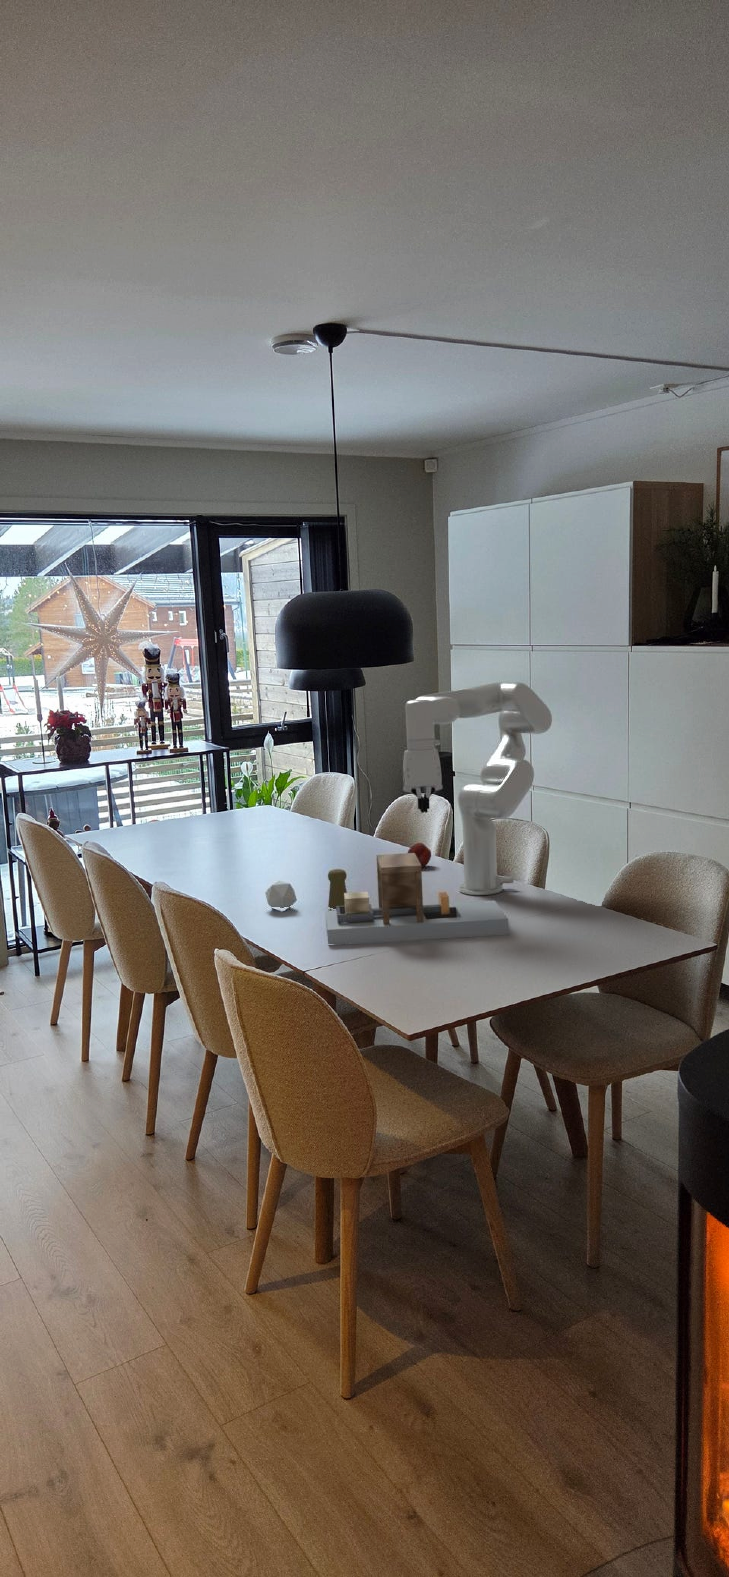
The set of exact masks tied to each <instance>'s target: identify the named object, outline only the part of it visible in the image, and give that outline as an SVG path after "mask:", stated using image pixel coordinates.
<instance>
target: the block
mask: <svg viewBox="0 0 729 1577" xmlns="http://www.w3.org/2000/svg"><path fill="white" fill-rule="evenodd" d="M344 901H345V914H353V913H370V910H369V904H370V896H369V893H368V891H360V892H347V893H344Z"/></svg>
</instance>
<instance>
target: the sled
mask: <svg viewBox="0 0 729 1577" xmlns="http://www.w3.org/2000/svg"><path fill="white" fill-rule="evenodd" d="M437 894H438V896H437V897H438V903H435V904H436V905H430V904H423V913H433V912H441V914H449V903H450V897H449V894H448V893H447V892H446V891H442V892H438V893H437ZM369 910H370V913H353V914H345V906H336V914H337V921H338V923H347V922H363V921H374V920H373V916H383V911H382V908H379V907H372V904H371V903H369ZM400 914H416V906H403V907H389V915H400Z"/></svg>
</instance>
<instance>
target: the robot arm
mask: <svg viewBox="0 0 729 1577" xmlns="http://www.w3.org/2000/svg"><path fill="white" fill-rule="evenodd" d="M404 710H405V727H406V731H405V732H406V747H407V748H406V750H404V753H403V759H402V760H403V761H402V779H403V787H402V791H403V792H406V793H411V794H413V795H414V796H415V797H416V798H417V810H419V812H420V813H421V814H427V813H428V810H430V808H431V807H430V798H431V796H432V795H433V794H434V792H437V791H440V790H442V789H443V782H442V767H441V761H440V755H439V750H438V749H437V748H436V747H437V746H438V745H439V746H441V740H440V739H437V738H436V737H435V725H449V724H452V723H454V722H455V721H456V720H458V719H468V718H469V719H471V718H478V717H481V716H482V717H483V716H486V715H490V714H495V713H499V714H498V727H499V743H498V745H497V747H496V748H495V750H494V751H493V753H492V754H491V755H490V756H489V758H488V760H487V761H486V762H485V764H484V765H483V767H482V770H481V772H480V781H481V782H471V783H468V784H466V785H464V786H463V787H462V788H461V789H460V790H459V793H458V797H457V804H458V807H459V808H458V809H459V812H460V816H461V823H462V824H461V825H462V842H463V843H462V844H463V846H462V847H463V852H462V853H463V873H464V874H463V877H464V879H463V880H464V883H462V884H461V885H459V886H458V888H459V890H458V891H459V892H460V893H463V894H465V895H468V896H469V895H471V896H487V895H495V894H499V893H500V892H502V891H503V889H504V888H503V887H504V886H503V885H504V884H514V877H513V876H507V875H502V876H500V875H499V874H498V870H497V869H498V866H497V865H498V863H497V860H498V859H497V830H496V826H495V823H494V821H493V819H498V820H503V819H504V820H505V819H508V818H510V817H511V816H512V815H513V814H514V813H515V812H516V810H517V809H518V808H519V805H520V804H521V803H522V802H523V801H524V800H523V799H525V797H526V795H527V794H528V792H529V791H530V789H531V788H532V785H533V782H534V778H535V771H534V767H533V765H532V763H530V761H529V760H526V759H524V758H525V756H526V752H527V751H526V746H525V743H524V739H523V735H522V734H530V735H531V734H533V735H541V734H544V733H546V732H548V731H549V730H550V728H551V726H552V722H553V717H552V716H553V715H552V713H551V710H550V708H549V706H547V704H546V703H545V702H544V701H543V700H542V699H541V698H540V697H539V695H538V694H536V692H535V691H534V690H533V689H532V688H531V687H529V686H528V685H527V684H525V683H523V682H513V681H512V682H508V681H506V682H504V681H503V682H502V681H499V682H498V681H497V682H492V683H486V684H482V685H477V686H474V687H473V686H471V687H468V688H467V687H466V688H459V689H454V690H449V691H441V692H434V693H429V694H425V695H419V696H418V697H417V698H415V699H410V700H408V701H406V703H405V708H404ZM421 788H424V794H422V790H421Z"/></svg>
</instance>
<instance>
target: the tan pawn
mask: <svg viewBox="0 0 729 1577" xmlns="http://www.w3.org/2000/svg"><path fill="white" fill-rule="evenodd" d="M327 879H328V881H329V892H328V904H327V905H328V906H327V908H328V907H330V908H333V909H336V906H345V901H344V893H348V891H347V885H346V879H347V872H346V871H345V870H344V869H342V868H341V869H340V868H334V869H331V870H329V871H328V874H327Z"/></svg>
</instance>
